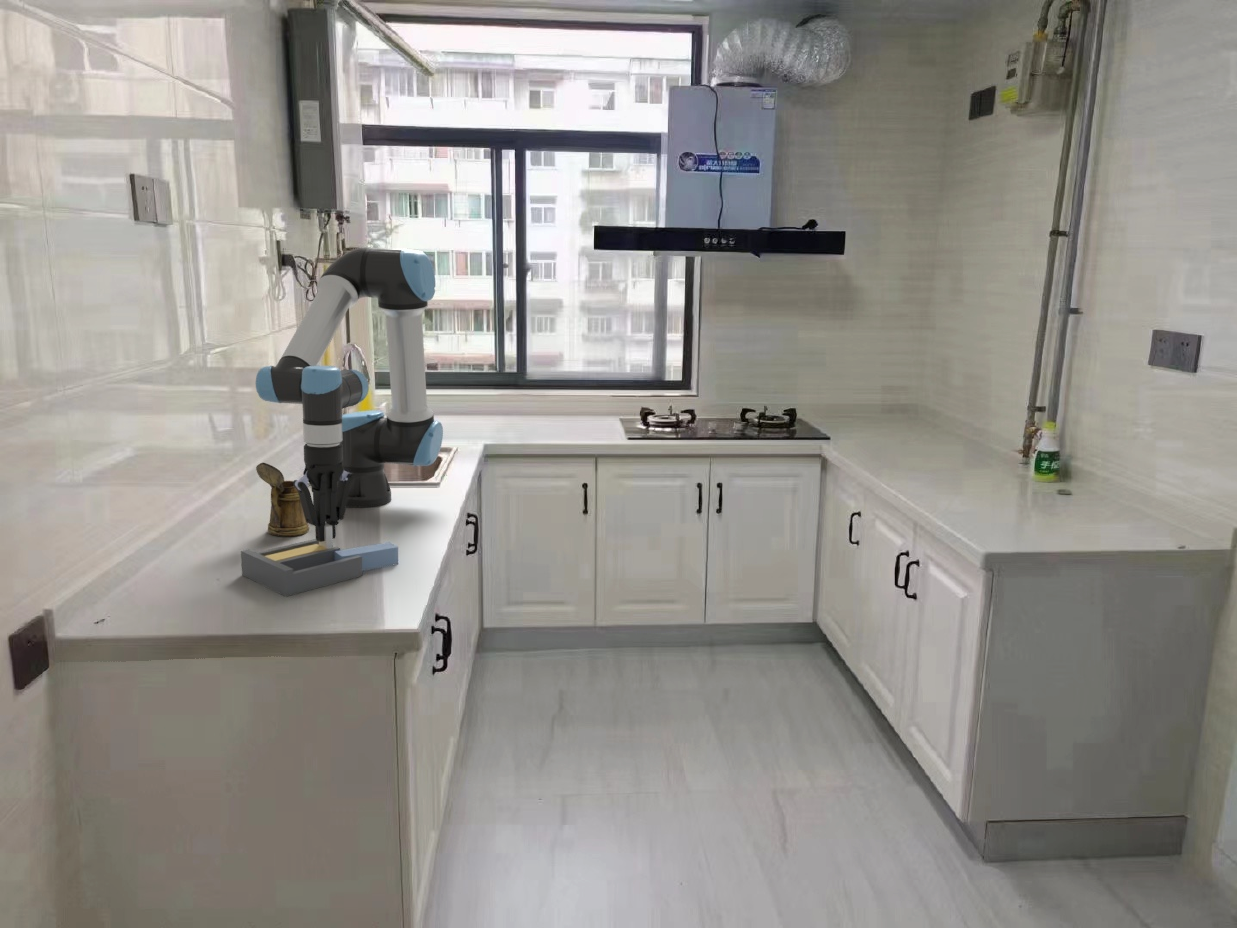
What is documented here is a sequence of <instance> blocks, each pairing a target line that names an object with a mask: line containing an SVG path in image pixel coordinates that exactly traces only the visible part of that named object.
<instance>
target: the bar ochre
mask: <svg viewBox="0 0 1237 928" xmlns="http://www.w3.org/2000/svg"><path fill="white" fill-rule="evenodd" d="M325 549H327V548H325V547H323V546H320V545H318V544H314V545H309V546H305V547H301V548H297V549H292V550H288V551H284V552H279V553H275V554H271V555H267V556H265V557H267V558H270V559H272V560H274V561H279V560H284V559H288V558H292V557H296V556H300V555H304V554H309V553H313V552H317V551H321V550H325Z"/></svg>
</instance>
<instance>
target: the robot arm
mask: <svg viewBox="0 0 1237 928" xmlns="http://www.w3.org/2000/svg"><path fill="white" fill-rule="evenodd" d="M316 284H317V285H316V289H317V293H316V295H315V296H314V298H313V300H312V302H311V304H310V305H309V307H308V308H307V311H306V312H305V314H304V316H303V317H302V320H301V321H300V323H299V325H298V327H297V329H296V330H295V332H294V334H293V336H292V338H291V339H290V341H289V343H288V344H287V346H286V348H285V350H284V352H283V354H281V357H280V359H279V360H278V362H277V364H276V365H270V366H269V365H268V366H266V365H265V366H263V367H262V368H260V369H259V370H258V372H257V374H256V377H255V390H256V392H257V394H258V397H259V398H260V399H261V400H262V401H265V402H268V403H270V402H272V403H276V404H294V405H297V404H298V405H302V427H303V428H302V430H303V442H304V443H305V444H304V445H303V462H304V470H303V476H301V477H300V478H299V479H298V480H297V479H295V480H292V481H293V485H294V487H295V488H296V489H297V491H298V494H299V498H300V501H301V505H302V509H303V512H304V516H305V520H306V522H307V523H308V525H312V526H314V527H315V539H316V540H317V541H319V545H320V546H323V547H325V548H327V549H330V548H334V544H333V542H334V541H333V540H334V539H336V534H337V533H336V526H338V525H339V523H340V522H339V521H343V520H344V518H345V515H346V514H345V513H346V510H347V507H349V508H369V507H370V508H371V507H377V506H381V505H385V504H388V503H390V502H391V501H392V488H391V486H390V484H389V481H388V477H387V475H386V473H385V464H392V465H405V466H414V467H419V466H421V467H422V466H423V467H424V466H425V467H426V466H427V467H428V466H430V465H433V464H434V462H436V460H437V458H438V456H439V453H440V450H441V449H442V444H443V436H444V435H443V434H444V429H443V424H442V423H441V422H440V421H438V420H435V418H434V417H435V415H434V411H433V410H432V409H431V408H430V407H428V402H427V400H428V399H427V382H426V366H425V365H426V362H425V346H424V331H423V330H424V329H423V312H424V311H425V310H426V309H427V308H428V307H429V306H428V302H429V301H432V299H433V298H434V296H435V292H436V289H435V288H436V275H435V270H434V267H433V264H432V262H431V259H430V258H429V256H428V255H427V254H426V253H425V252H424V251H421V250H414V249H408V248H390V247H389V248H386V247H385V248H383V247H382V248H380V247H374V248H373V247H367V246H365V247H359V248H355V249H352V250H350V251H348V252H346V253H344V254H342V255H341V256H340V257H338V258H337V259H335V260H334V261H333V262H332V263H331V264H330V265H329V266H328V267H327V268H326V269H325V270H324V272H323V273H322V275H321V276H320V278H319V280H318V281H317V283H316ZM362 298H372V299H373V298H375V299H377V303H378V305H377V307H378V309H380V310H381V312H383V313H384V315H385V324H386V325H385V327H386V338H387V357H388V367H389V370H388V371H389V383H390V394H391V395H390V396H391V409H390V410H389V411H388V412H387V413H386V417H385V414H384V412H383V410H363V411H355V412H349V413H345V414H343V409H346V408H348V407H354V406H356V405H358V404H359V403H361V402H363V401H364V400H365V399H366V398H367V396H368V394H369V389H370V386H369V381H368V379H367V377H366V376H365V374H363V373H362V372H360V370H359V371H358V370H356V369H347V368H346V369H343V370H341V369H340V368H339V367H338V366H334V365H320V363H321V361H322V359H323V357H324V355H325V354H326V351H327V350H328V348H329V347H330V344H331V342H332V340H333V339H334V337H335V335H336V333H337V330H338V328H339V327H340V325H341V323H342V321H343V320H344V317H345V315H346V314H347V312H348V310H349V309H350V308H353V307H354V306H355V305H356V303H357V302H359V301H358V300H360V299H362ZM310 486H311V491H310V490H309V487H310ZM311 493H312V495H311Z"/></svg>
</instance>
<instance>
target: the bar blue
mask: <svg viewBox="0 0 1237 928" xmlns="http://www.w3.org/2000/svg"><path fill="white" fill-rule="evenodd" d="M357 555H359V556H362V572H363V570H364V571H368V570H375V569H378V568H385V567H391V566H394V565H393V564H397V565H399V547H398V546H397V545H395V544H394V543H392V542H390V541H388V542H383V543H382V542H381V543H377V544H369V545H363V546H357V547H351V548H346V549H340V550H339V551H334V559H335V561H337V560H341V559H345V558H349V557H353V556H357Z"/></svg>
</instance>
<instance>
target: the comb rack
mask: <svg viewBox="0 0 1237 928" xmlns="http://www.w3.org/2000/svg"><path fill="white" fill-rule="evenodd" d="M314 544H318V545H319V541H317V540H316V538H314V539H309V540H305V541H304V540H303V541H301V542H295V543H291V544H287V545H283V546H278V547H274V548H269V549H266V550H264V549H263V550H261V551H257V552H256V551H254V550H251V549H249V548H247V549H243V550H241V551H240V557H241V558H240V560H241V561H240V562H241V576H243V577H245V578H246V579H250V580H251V581H253V582H255V583H257V584H260V585H261V586H263V587H265V588H267V589H270V590H272V591H274V592H275V593H279V594H280V595H283V596H284V597H290V596H294V595H297V594H301V593H304V592H307V591H310V590H311V591H312V590H314V589H318V588H323V587H325V586H329V585H333V584H337V583H340V582H343V581H344V582H345V581H348V580H351V579H355V578H358V577H362V576H363V571H362V556H359V555H357V556H353V557H349V558H345V559H341V560H337V561H335V559H334V551H339V550H341V548H340V547H339V546H335V547H334V546H333V548H330V549H325V550H321V551H317V552H313V553H309V554H304V555H300V556H296V557H292V558H288V559H284V560H279V561H274V560H272V559H270V558H267V557H265V556H267V555H271V554H275V553H279V552H284V551H288V550H292V549H297V548H301V547H305V546H309V545H314Z"/></svg>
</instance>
